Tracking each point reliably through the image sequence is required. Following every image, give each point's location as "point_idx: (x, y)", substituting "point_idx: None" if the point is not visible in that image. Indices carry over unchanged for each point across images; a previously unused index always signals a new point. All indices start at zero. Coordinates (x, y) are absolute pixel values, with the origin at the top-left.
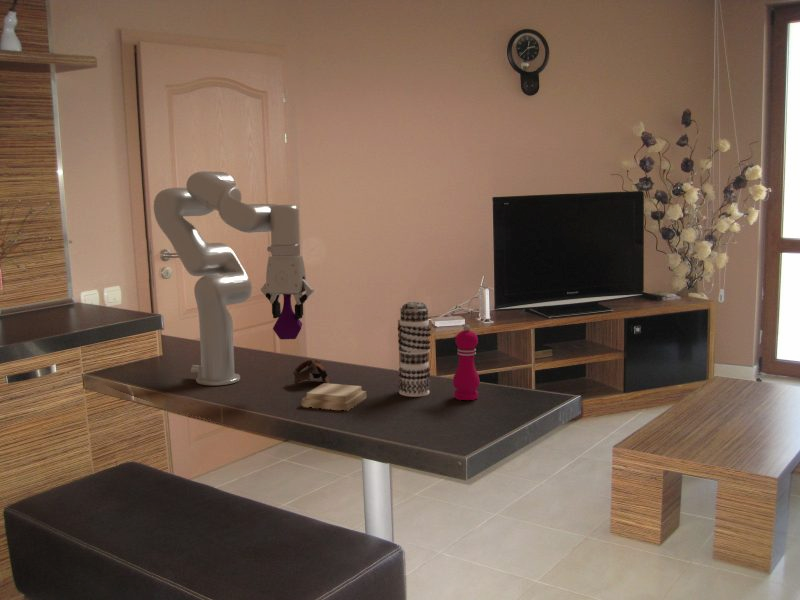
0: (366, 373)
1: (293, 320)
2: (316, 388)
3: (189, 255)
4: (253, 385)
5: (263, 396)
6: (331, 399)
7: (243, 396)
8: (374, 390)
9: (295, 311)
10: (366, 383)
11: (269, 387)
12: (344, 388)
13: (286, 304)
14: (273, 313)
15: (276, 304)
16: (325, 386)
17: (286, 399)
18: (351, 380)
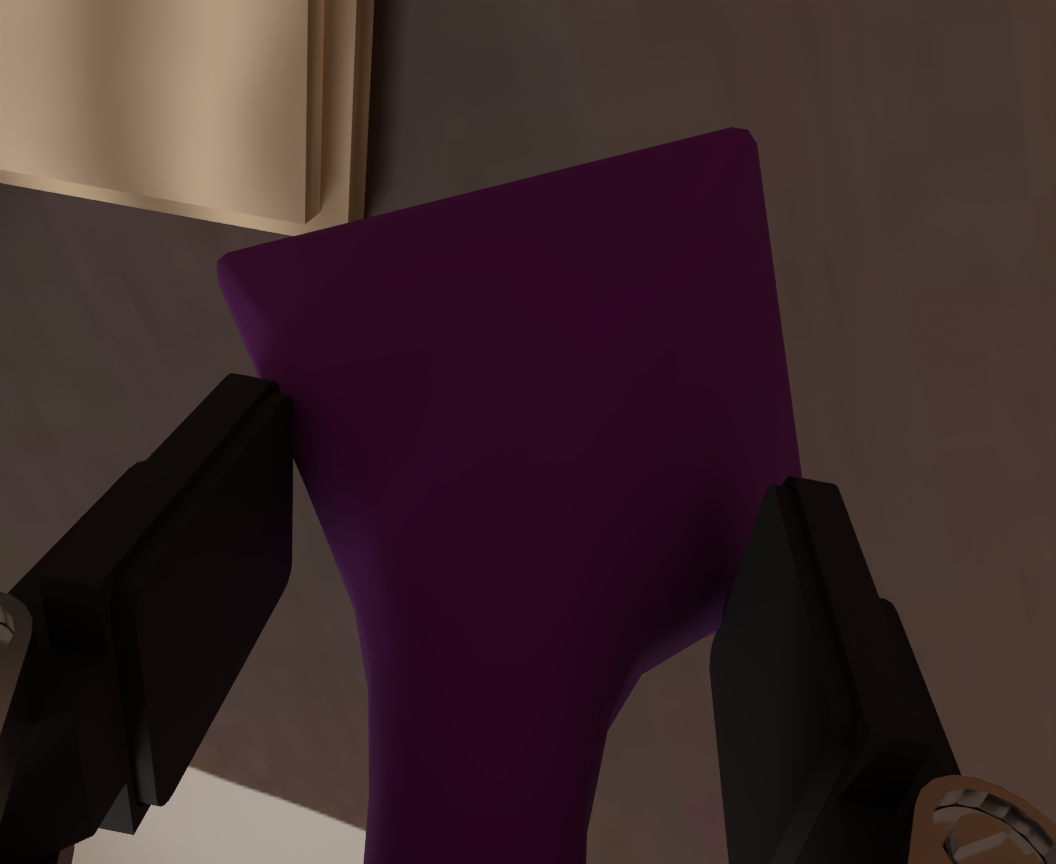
0: (289, 711)
1: (330, 359)
2: (290, 23)
3: None
4: (949, 413)
5: (805, 104)
6: None
7: (986, 77)
8: (75, 372)
9: (192, 464)
10: None
11: (811, 372)
12: (68, 65)
13: (465, 726)
14: (843, 538)
15: (805, 770)
16: (246, 111)
17: (588, 38)
18: (312, 575)
